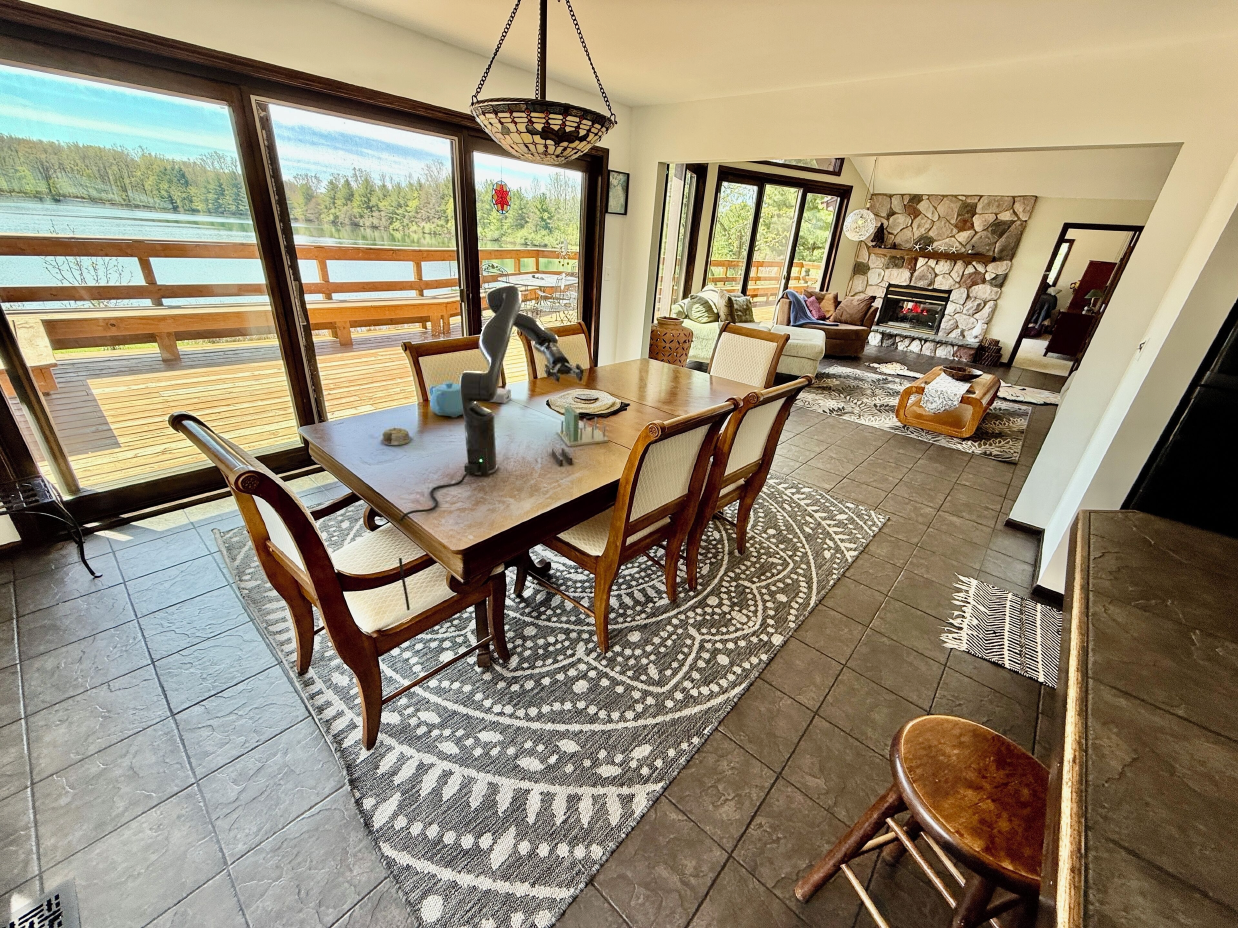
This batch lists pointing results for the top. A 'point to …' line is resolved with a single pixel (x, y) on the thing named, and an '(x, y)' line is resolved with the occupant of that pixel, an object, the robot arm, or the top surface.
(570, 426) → the lid
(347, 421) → the top surface
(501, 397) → the charger
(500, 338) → the robot arm
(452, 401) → the decorative pot
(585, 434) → the dish rack
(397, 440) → the cake
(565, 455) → the pair of dark bars
